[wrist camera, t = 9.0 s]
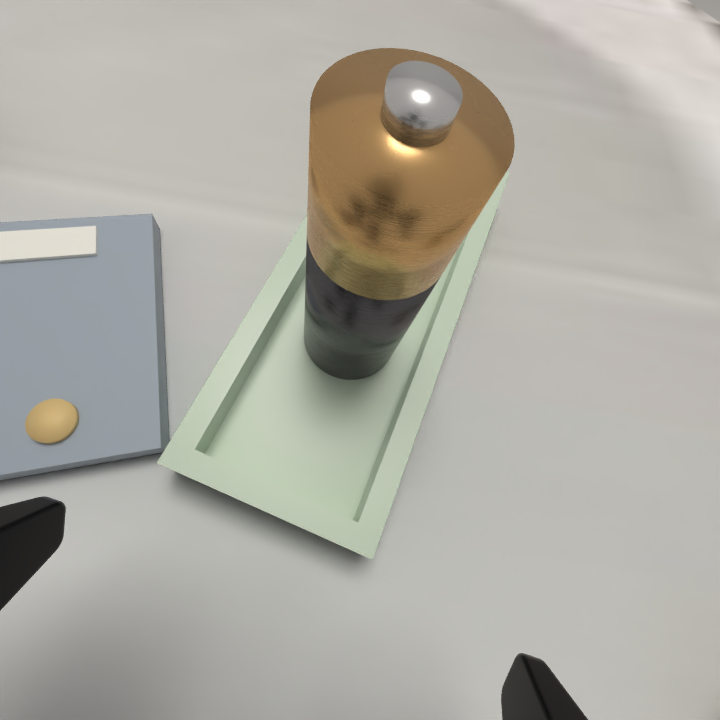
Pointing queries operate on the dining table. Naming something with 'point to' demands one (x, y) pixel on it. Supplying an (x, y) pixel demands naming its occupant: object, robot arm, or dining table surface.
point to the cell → (391, 196)
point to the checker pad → (81, 343)
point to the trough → (319, 407)
